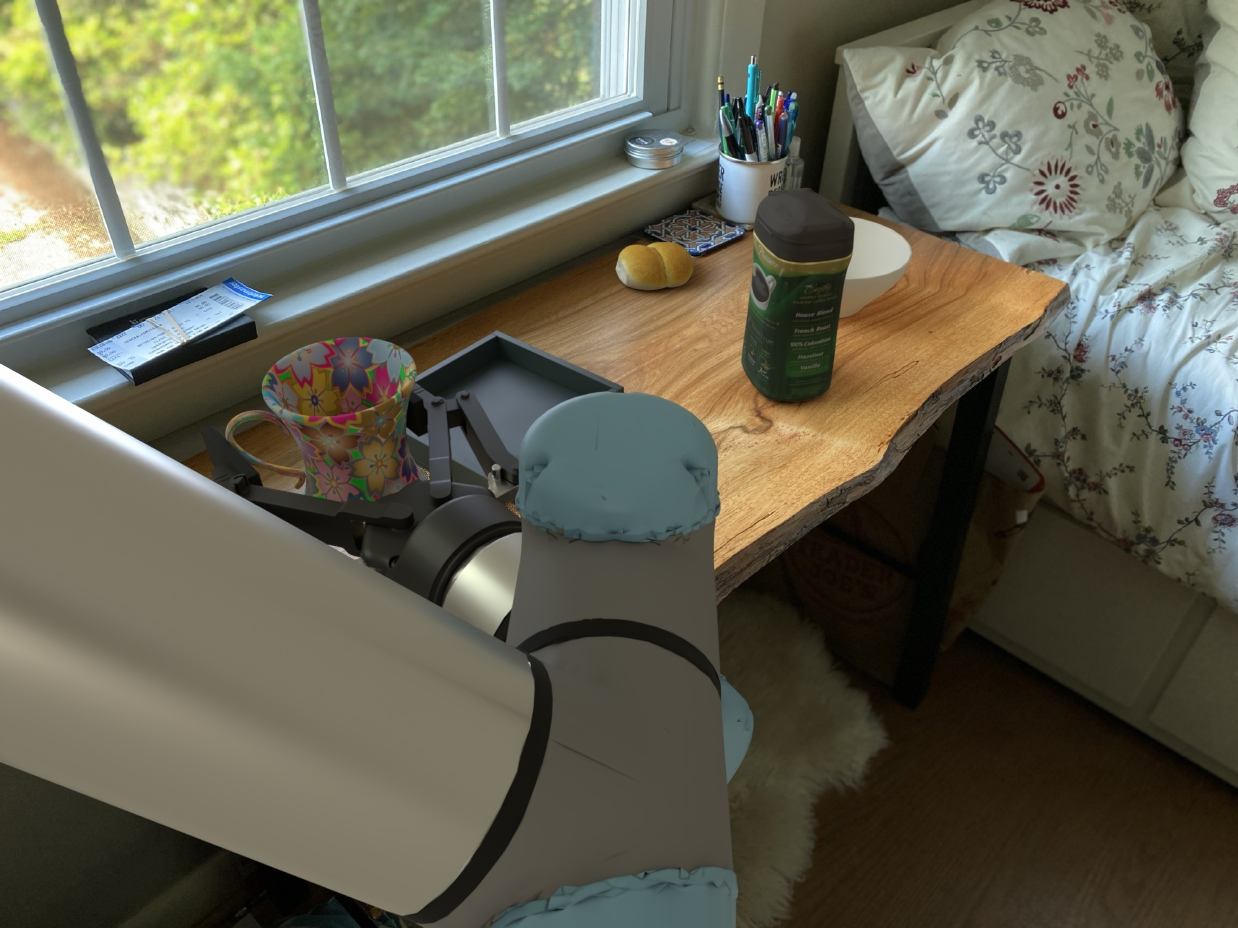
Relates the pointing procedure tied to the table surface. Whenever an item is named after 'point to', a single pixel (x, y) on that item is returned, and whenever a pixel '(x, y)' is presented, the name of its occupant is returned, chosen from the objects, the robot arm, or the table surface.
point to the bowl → (873, 265)
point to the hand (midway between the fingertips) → (294, 409)
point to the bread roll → (654, 266)
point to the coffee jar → (795, 294)
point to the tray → (502, 395)
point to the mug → (342, 417)
